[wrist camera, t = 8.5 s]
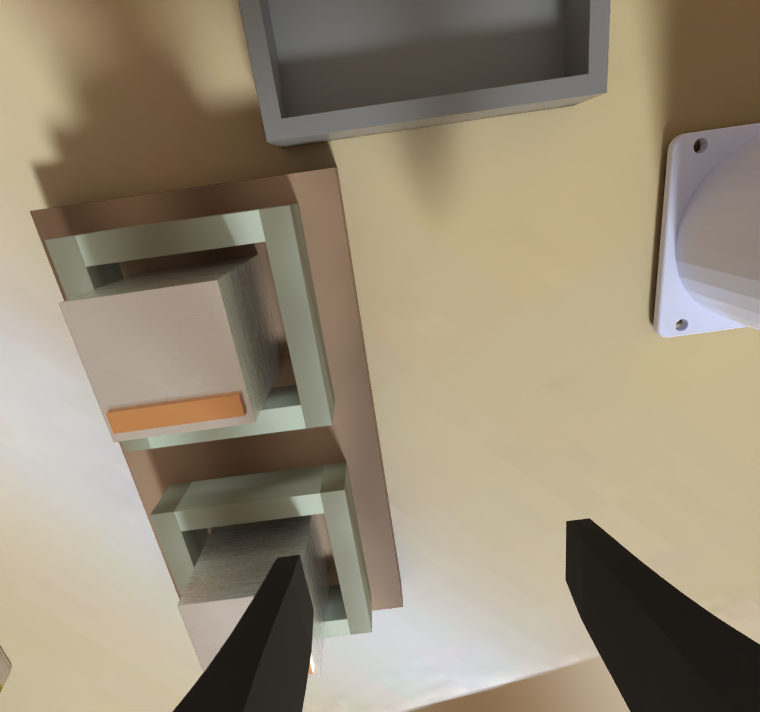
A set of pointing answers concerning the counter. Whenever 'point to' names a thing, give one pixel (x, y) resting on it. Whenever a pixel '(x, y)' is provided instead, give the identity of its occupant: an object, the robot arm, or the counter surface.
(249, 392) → the block
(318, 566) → the billet
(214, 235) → the double pocket tray
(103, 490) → the counter surface
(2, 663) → the ceramic cup
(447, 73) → the gray square tray
